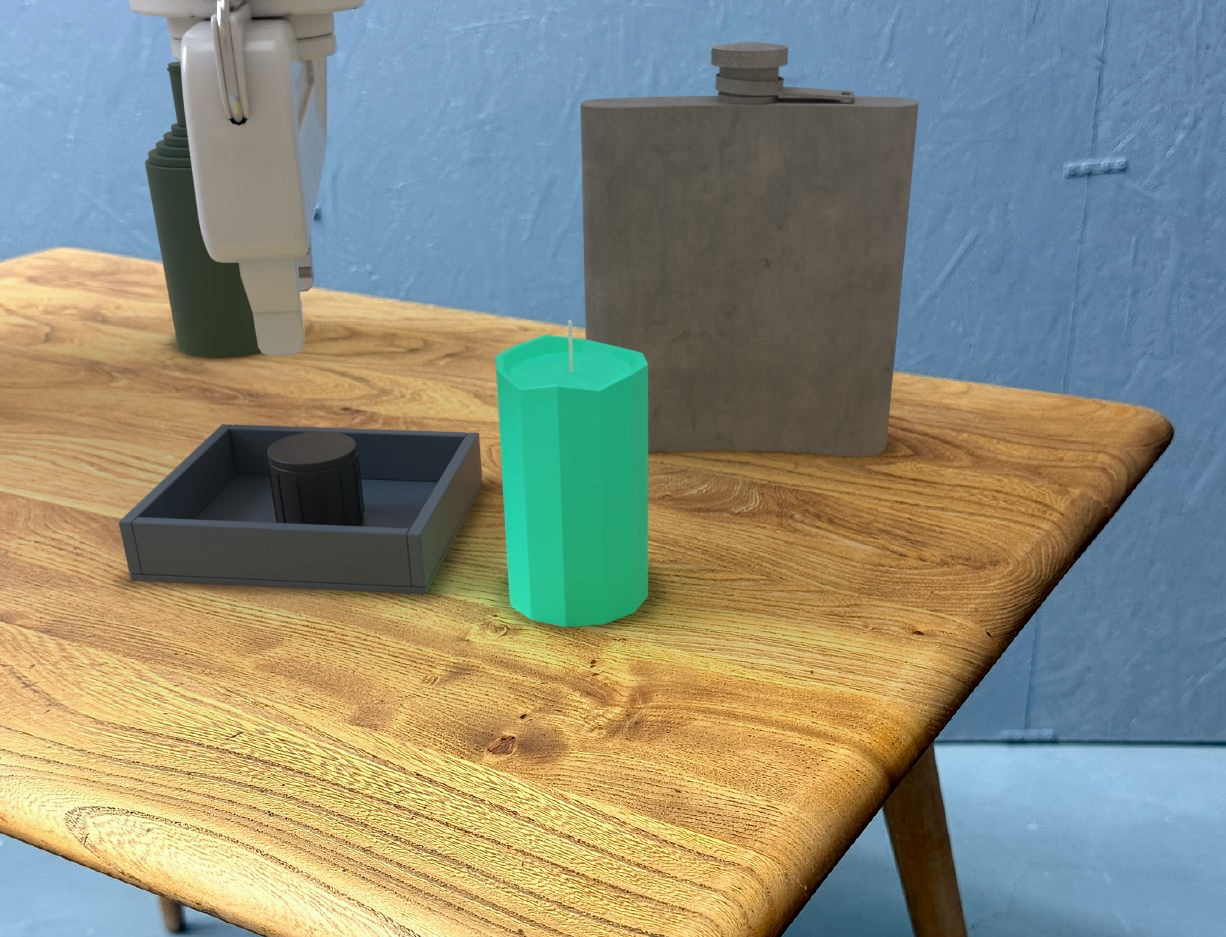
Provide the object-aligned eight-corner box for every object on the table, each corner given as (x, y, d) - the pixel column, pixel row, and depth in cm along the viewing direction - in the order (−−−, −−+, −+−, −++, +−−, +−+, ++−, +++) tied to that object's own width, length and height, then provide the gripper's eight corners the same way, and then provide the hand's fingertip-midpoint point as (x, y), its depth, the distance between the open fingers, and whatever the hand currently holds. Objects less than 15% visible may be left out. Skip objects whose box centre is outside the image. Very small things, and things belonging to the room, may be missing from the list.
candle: (489, 580, 57) (471, 309, 51) (617, 556, 59) (613, 292, 53) (534, 644, 52) (519, 353, 47) (671, 615, 54) (674, 332, 48)
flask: (160, 360, 85) (106, 70, 76) (203, 328, 91) (158, 56, 83) (267, 363, 84) (224, 70, 76) (303, 330, 90) (268, 56, 82)
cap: (368, 504, 63) (360, 430, 61) (359, 539, 60) (350, 462, 58) (286, 507, 63) (275, 432, 61) (271, 543, 59) (259, 465, 58)
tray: (131, 586, 57) (117, 521, 56) (231, 480, 67) (221, 423, 66) (426, 600, 56) (420, 534, 54) (483, 490, 66) (479, 432, 64)
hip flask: (585, 458, 69) (576, 49, 60) (591, 430, 73) (583, 40, 63) (889, 461, 68) (929, 46, 59) (880, 433, 72) (916, 38, 62)
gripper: (318, -26, 41) (362, 392, 48) (334, -52, 59) (365, 257, 66) (111, -23, 41) (185, 403, 47) (190, -50, 58) (236, 263, 65)
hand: (290, 317), depth 57 cm, fingers open, 8 cm apart
